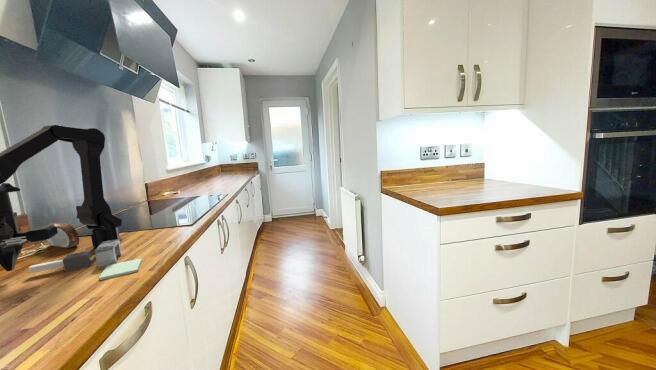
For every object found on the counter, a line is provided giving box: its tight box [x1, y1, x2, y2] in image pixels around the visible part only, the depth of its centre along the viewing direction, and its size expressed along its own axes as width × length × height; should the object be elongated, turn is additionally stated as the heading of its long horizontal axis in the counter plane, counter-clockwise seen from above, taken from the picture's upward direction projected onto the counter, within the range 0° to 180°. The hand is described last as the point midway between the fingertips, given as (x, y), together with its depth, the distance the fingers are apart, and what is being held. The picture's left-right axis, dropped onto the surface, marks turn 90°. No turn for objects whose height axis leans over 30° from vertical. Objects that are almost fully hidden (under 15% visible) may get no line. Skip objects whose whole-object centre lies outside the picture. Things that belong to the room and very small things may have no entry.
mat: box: [98, 257, 143, 281], centre depth 69 cm, size 8×8×1 cm
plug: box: [28, 250, 96, 274], centre depth 71 cm, size 13×4×4 cm, turn 119°
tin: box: [46, 221, 80, 249], centre depth 88 cm, size 15×3×8 cm, turn 71°
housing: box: [94, 239, 123, 268], centre depth 75 cm, size 4×8×5 cm, turn 29°
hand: (10, 270), depth 66 cm, fingers closed
